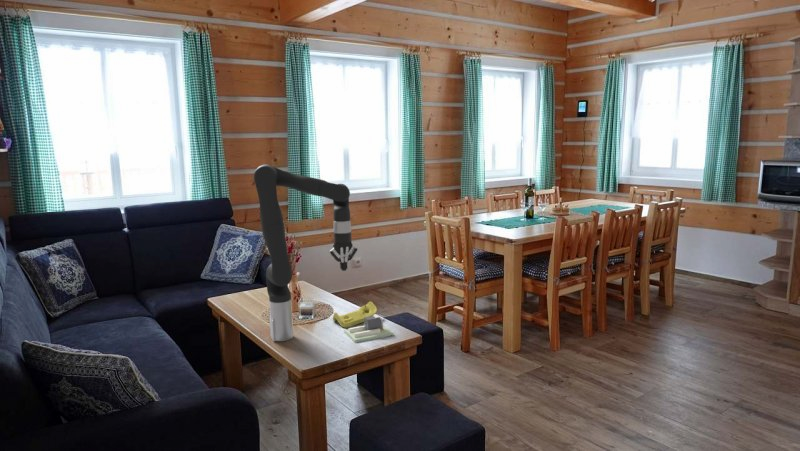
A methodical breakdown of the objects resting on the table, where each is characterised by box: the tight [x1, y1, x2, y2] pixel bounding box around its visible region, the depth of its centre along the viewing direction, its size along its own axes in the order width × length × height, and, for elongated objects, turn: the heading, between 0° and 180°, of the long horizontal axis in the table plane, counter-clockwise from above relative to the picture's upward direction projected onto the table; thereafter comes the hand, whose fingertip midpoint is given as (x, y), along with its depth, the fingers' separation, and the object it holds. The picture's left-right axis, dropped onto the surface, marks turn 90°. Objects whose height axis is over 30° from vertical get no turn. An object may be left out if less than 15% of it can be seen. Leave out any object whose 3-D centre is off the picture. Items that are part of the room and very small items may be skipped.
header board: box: [343, 317, 394, 343], centre depth 239 cm, size 18×13×6 cm
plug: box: [363, 314, 381, 331], centre depth 240 cm, size 6×4×6 cm, turn 115°
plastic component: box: [332, 301, 378, 328], centre depth 256 cm, size 20×7×10 cm
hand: (343, 270), depth 235 cm, fingers closed
